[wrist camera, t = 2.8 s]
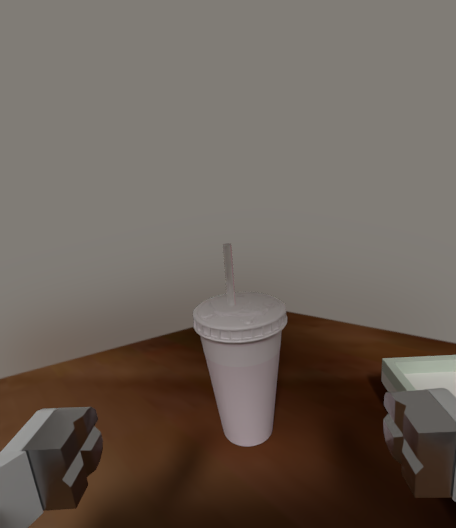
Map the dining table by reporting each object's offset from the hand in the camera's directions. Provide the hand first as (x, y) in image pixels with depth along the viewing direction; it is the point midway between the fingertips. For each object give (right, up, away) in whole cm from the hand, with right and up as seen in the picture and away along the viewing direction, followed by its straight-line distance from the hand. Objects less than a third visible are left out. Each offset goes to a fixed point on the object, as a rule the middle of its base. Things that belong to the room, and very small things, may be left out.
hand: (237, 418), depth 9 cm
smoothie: (+1, -8, +16) cm, 18 cm away
